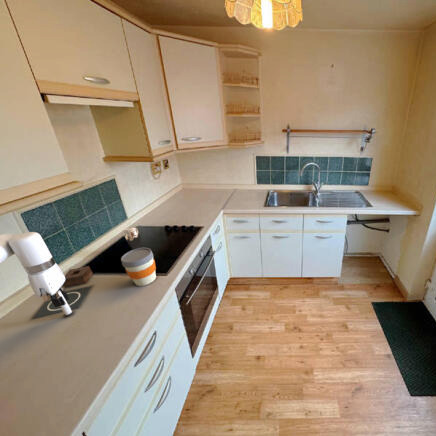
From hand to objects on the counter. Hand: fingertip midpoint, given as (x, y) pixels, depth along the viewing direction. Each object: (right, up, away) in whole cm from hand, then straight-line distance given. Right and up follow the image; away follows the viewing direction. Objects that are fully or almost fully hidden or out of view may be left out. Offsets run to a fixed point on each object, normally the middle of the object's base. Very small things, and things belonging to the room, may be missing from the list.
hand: (62, 302), depth 90 cm
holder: (-14, +3, +22) cm, 27 cm away
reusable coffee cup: (+19, +3, +22) cm, 29 cm away
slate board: (-9, -3, +10) cm, 13 cm away
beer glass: (0, +13, +45) cm, 47 cm away
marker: (0, -6, +3) cm, 7 cm away
